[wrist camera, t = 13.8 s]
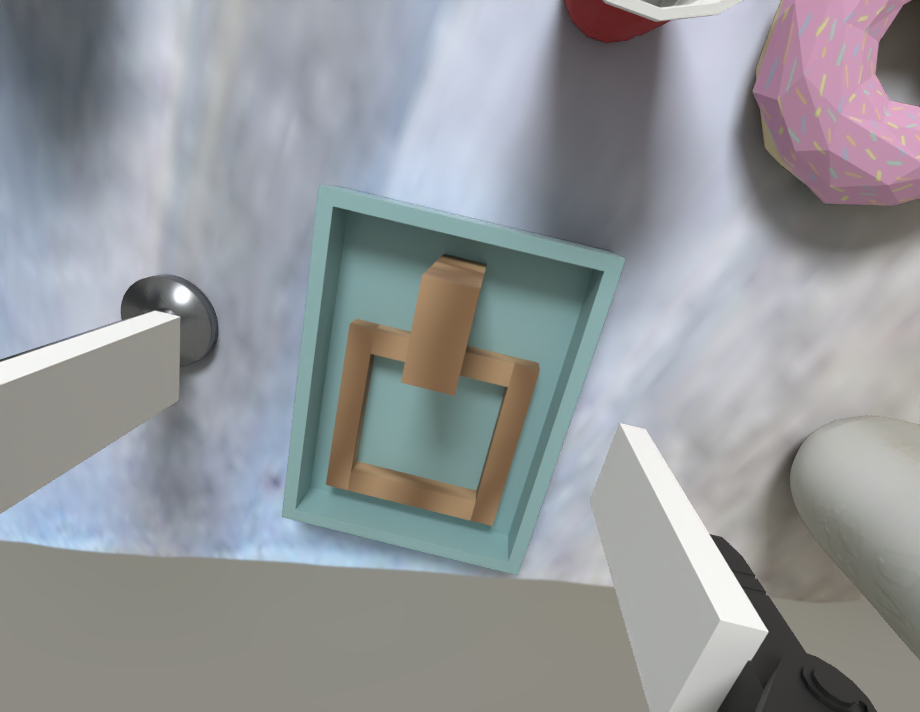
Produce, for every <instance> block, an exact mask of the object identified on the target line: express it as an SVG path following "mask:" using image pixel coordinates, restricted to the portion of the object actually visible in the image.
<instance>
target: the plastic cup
mask: <svg viewBox="0 0 920 712" xmlns="http://www.w3.org/2000/svg"><path fill="white" fill-rule="evenodd" d="M741 1H743V0H564V2H565V4H566V7H567V9H568V12H569V15H570V17H571V20H572V22H573V23H574V24H575V25H576V26H577V27H578V28H579V29H580V30H581V31H582V32H583V33H584V34H585V35H586V36H587V37H590V38H593V39H596V40H599V41H602V42H605V43H611V42H619V41H627V40H629V39H631V38H633V37H635V36H639V35H643V34H645V33H647V32H649V31H651V30H653V29H655V28H657V27H659V26H661V25H663V24H665V23H667V22H669V21H671V20H676V19H686V18H695V17H704V16H712V15H717V14H719V13H721V12H723V11H725V10H727V9H728V8H730V7H732V6H734V5H735V4H737V3H739V2H741Z"/></svg>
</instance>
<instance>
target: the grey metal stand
mask: <svg viewBox="0 0 920 712" xmlns="http://www.w3.org/2000/svg"><path fill="white" fill-rule="evenodd" d="M152 311H159V312H163V313H167V314H171V315H176V316H180V367H182V366H187V365H189V364H192V363H194V362H196V361H198V360H199V359H201V358H203V357H205V356H206V355H207V354H208V353H209V352H210V351H211V350H212V348H213V347H214V345H215V343H216V340H217V336H218V322H217V317H216V313H215V311H214V308H213V306H212V305H211V303H210V301H209V300H208V298H207V297H206V296H205V295H204V293H203V292H202V291H201V290H200V289H199V288H197V287H196V286H195V285H193V284H192V283H190V282H189V281H187V280H185V279H183V278H180V277H177V276H173V275H156V276H152V277H148V278H144V279H141V280H139V281H137V282H135V283H134V284H133V285H131V286H130V287H129V289H128V290H127V291H126V293H125V295H124V297H123V300H122V304H121V319H122V320H121V321H117V322H114V323H111V324H108V325H105V326H102V327H99V328H96V329H93V330H90V331H87V332H84V333H81V334H78V335H74V336H71V337H68V338H65V339H62V340H59V341H56V342H53V343H50V344H47V345H44V346H41V347H38V348H35V349H31V350H28V351H25V352H22V353H19V354H16V355H13V356H10V357H7V358H4V359H1V360H0V362H2V361H5V360H8V359H11V358H14V357H17V356H20V355H23V354H26V353H29V352H32V351H35V350H38V349H41V348H44V347H47V346H50V345H53V344H56V343H59V342H62V341H65V340H68V339H71V338H74V337H77V336H80V335H83V334H86V333H89V332H92V331H95V330H98V329H101V328H104V327H107V326H110V325H113V324H116V323H119V322H122V321H125V320H128V319H131V318H134V317H137V316H140V315H143V314H146V313H149V312H152Z"/></svg>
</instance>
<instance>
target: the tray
mask: <svg viewBox="0 0 920 712" xmlns="http://www.w3.org/2000/svg"><path fill="white" fill-rule="evenodd" d="M443 254H447V255H451V256H455V257H460V258H464V259H468V260H472V261H476V262H480V263H485V264H487V266H486V270H485V274H484V278H483V282H482V286H481V290H480V295H479V299H478V303H477V307H476V311H475V315H474V319H473V323H472V328H471V332H470V336H469V340H468V344H467V346H471V347H475V348H479V349H484V350H488V351H492V352H496V353H500V354H504V355H508V356H512V357H517V358H521V359H525V360H529V361H533V362H537V363H539V368H540V372H539V375H538V378H537V381H536V385H535V388H534V391H533V395H532V398H531V401H530V404H529V408H528V411H527V414H526V418H525V421H524V424H523V427H522V431H521V434H520V437H519V440H518V444H517V447H516V450H515V454H514V457H513V460H512V463H511V467H510V470H509V473H508V477H507V480H506V483H505V486H504V490H503V493H502V496H501V500H500V503H499V506H498V509H497V513H496V516H495V519H494V523H493V526H490V525H486V524H482V523H478V522H474V521H470V520H466V519H462V518H458V517H454V516H450V515H446V514H441V513H437V512H433V511H429V510H425V509H421V508H417V507H413V506H409V505H405V504H401V503H397V502H393V501H389V500H385V499H381V498H377V497H373V496H369V495H365V494H361V493H356V492H352V491H348V490H344V489H340V488H336V487H332V486H328V485H326V480H327V473H328V466H329V459H330V453H331V446H332V439H333V432H334V426H335V419H336V412H337V405H338V399H339V392H340V385H341V378H342V372H343V365H344V358H345V351H346V345H347V338H348V331H349V324H350V323H351V322H352V321H354V320H355V319H360V320H364V321H368V322H372V323H376V324H381V325H385V326H389V327H393V328H397V329H401V330H405V331H409V332H411V329H412V324H413V319H414V314H415V309H416V304H417V299H418V293H419V288H420V283H421V278H422V275H423V274H424V273H425V272H426V271H427V270H428V269H429V268H430V267H431V266H432V265H433V264H434V263H435V262H436V261H437V260H438V259H439V258H440V257H441V256H442V255H443ZM625 260H626V259H625V258H623V257H621V256H620V255H618V254H616V253H614V252H611V251H607V250H603V249H599V248H595V247H591V246H586V245H582V244H578V243H574V242H570V241H565V240H561V239H557V238H553V237H549V236H545V235H540V234H536V233H532V232H528V231H524V230H519V229H515V228H511V227H507V226H503V225H499V224H494V223H490V222H486V221H482V220H478V219H473V218H469V217H465V216H461V215H457V214H452V213H448V212H444V211H440V210H436V209H432V208H427V207H423V206H419V205H415V204H411V203H406V202H402V201H398V200H394V199H390V198H386V197H381V196H377V195H373V194H369V193H365V192H360V191H356V190H352V189H348V188H344V187H339V186H320V185H319V189H318V198H317V207H316V215H315V224H314V233H313V242H312V251H311V260H310V269H309V278H308V287H307V296H306V304H305V313H304V322H303V331H302V340H301V349H300V358H299V367H298V376H297V385H296V394H295V402H294V411H293V420H292V429H291V438H290V447H289V456H288V465H287V474H286V483H285V492H284V500H283V509H282V517H284V518H288V519H292V520H296V521H300V522H304V523H308V524H312V525H316V526H320V527H324V528H328V529H332V530H336V531H340V532H345V533H349V534H353V535H357V536H361V537H365V538H369V539H373V540H377V541H381V542H385V543H389V544H393V545H397V546H401V547H405V548H409V549H413V550H417V551H421V552H425V553H429V554H433V555H437V556H441V557H445V558H449V559H453V560H458V561H462V562H466V563H470V564H474V565H478V566H482V567H486V568H490V569H494V570H498V571H502V572H506V573H510V574H514V575H518V573H519V570H520V567H521V564H522V561H523V558H524V555H525V552H526V549H527V547H528V544H529V541H530V538H531V535H532V532H533V529H534V526H535V523H536V520H537V517H538V514H539V511H540V509H541V506H542V503H543V500H544V497H545V494H546V491H547V488H548V485H549V482H550V479H551V476H552V474H553V471H554V468H555V465H556V462H557V459H558V456H559V453H560V450H561V447H562V444H563V441H564V439H565V436H566V433H567V430H568V427H569V424H570V421H571V418H572V415H573V412H574V409H575V406H576V403H577V401H578V398H579V395H580V392H581V389H582V386H583V383H584V380H585V377H586V374H587V371H588V368H589V366H590V363H591V360H592V357H593V354H594V351H595V348H596V345H597V342H598V339H599V336H600V333H601V330H602V328H603V325H604V322H605V319H606V316H607V313H608V310H609V307H610V304H611V301H612V298H613V295H614V293H615V290H616V287H617V284H618V281H619V278H620V275H621V272H622V269H623V266H624V263H625ZM404 365H405V362H402V361H398V360H394V359H390V358H386V357H382V356H378V355H375V357H374V363H373V369H372V374H371V380H370V386H369V392H368V398H367V403H366V409H365V415H364V421H363V427H362V433H361V438H360V444H359V450H358V456H357V461H358V462H362V463H366V464H370V465H374V466H378V467H383V468H387V469H391V470H395V471H399V472H403V473H407V474H411V475H415V476H419V477H423V478H427V479H431V480H435V481H439V482H443V483H448V484H452V485H456V486H460V487H464V488H468V489H472V490H476V491H477V487H478V484H479V480H480V477H481V473H482V470H483V466H484V463H485V459H486V455H487V452H488V448H489V445H490V441H491V438H492V434H493V431H494V427H495V423H496V420H497V416H498V413H499V409H500V406H501V402H502V399H503V395H504V391H505V388H506V387H505V386H501V385H497V384H493V383H489V382H485V381H481V380H476V379H472V378H468V377H464V376H459V380H458V384H457V388H456V392H455V396H453V395H449V394H445V393H441V392H437V391H433V390H429V389H425V388H421V387H417V386H412V385H408V384H404V383H401V380H402V375H403V370H404Z"/></svg>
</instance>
